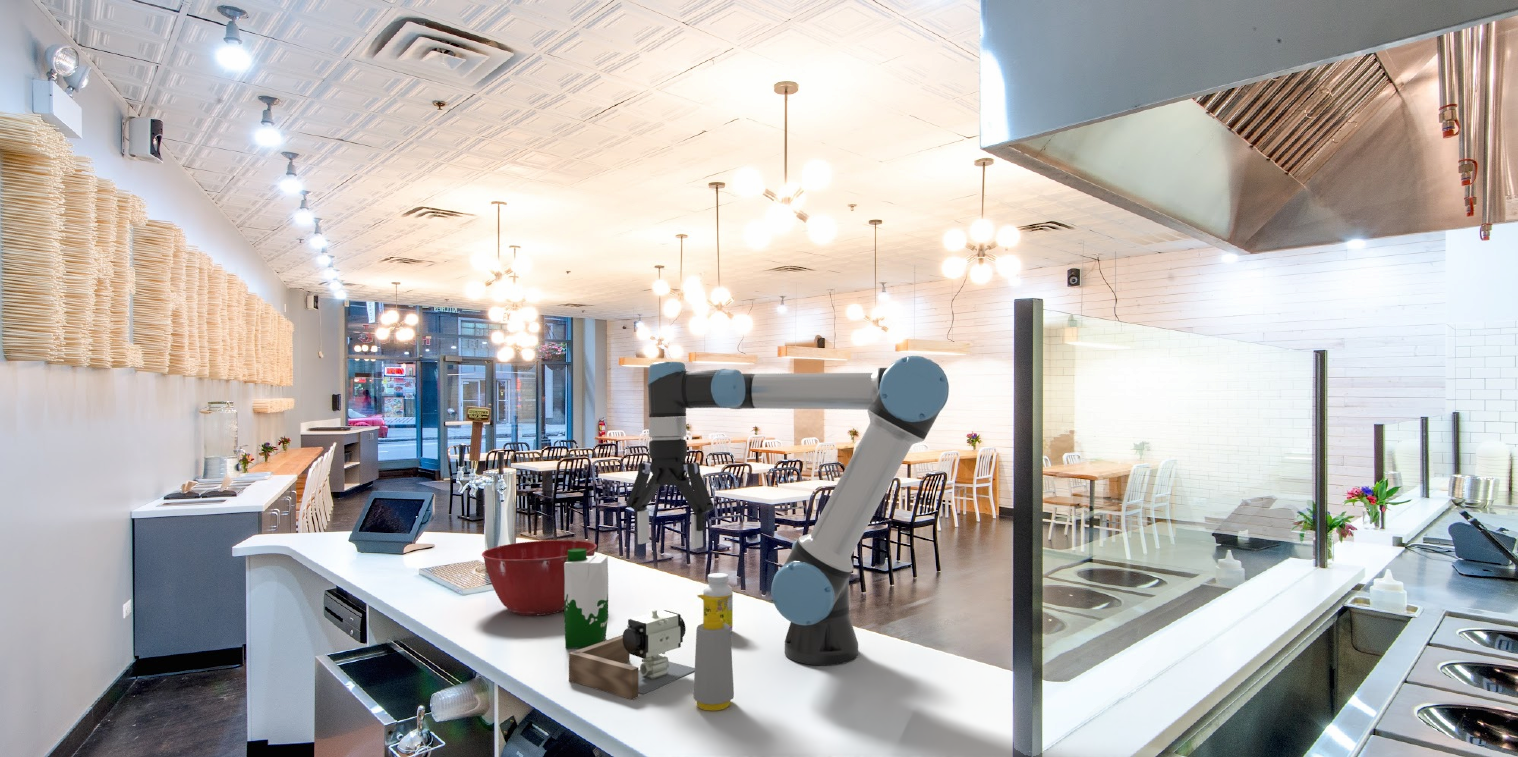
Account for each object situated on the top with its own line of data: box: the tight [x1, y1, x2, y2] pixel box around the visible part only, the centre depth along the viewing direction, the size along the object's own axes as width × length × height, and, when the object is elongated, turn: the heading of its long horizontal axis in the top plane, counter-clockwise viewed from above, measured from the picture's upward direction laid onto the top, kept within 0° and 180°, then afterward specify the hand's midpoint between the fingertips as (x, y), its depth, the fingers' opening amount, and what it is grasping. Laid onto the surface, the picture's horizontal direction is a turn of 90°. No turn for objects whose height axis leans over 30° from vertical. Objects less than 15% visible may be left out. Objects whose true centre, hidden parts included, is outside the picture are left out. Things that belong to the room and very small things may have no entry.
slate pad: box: [638, 661, 695, 695], centre depth 136 cm, size 9×15×1 cm, turn 145°
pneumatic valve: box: [622, 609, 687, 680], centre depth 136 cm, size 6×12×12 cm, turn 137°
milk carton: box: [563, 548, 609, 649], centre depth 157 cm, size 9×9×20 cm
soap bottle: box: [693, 594, 735, 712], centre depth 123 cm, size 7×7×18 cm
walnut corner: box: [568, 634, 640, 700], centre depth 136 cm, size 16×14×5 cm
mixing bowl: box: [481, 539, 598, 616], centre depth 186 cm, size 28×28×15 cm
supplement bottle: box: [702, 572, 734, 632], centre depth 164 cm, size 7×7×13 cm
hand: (669, 545), depth 144 cm, fingers open, 13 cm apart
